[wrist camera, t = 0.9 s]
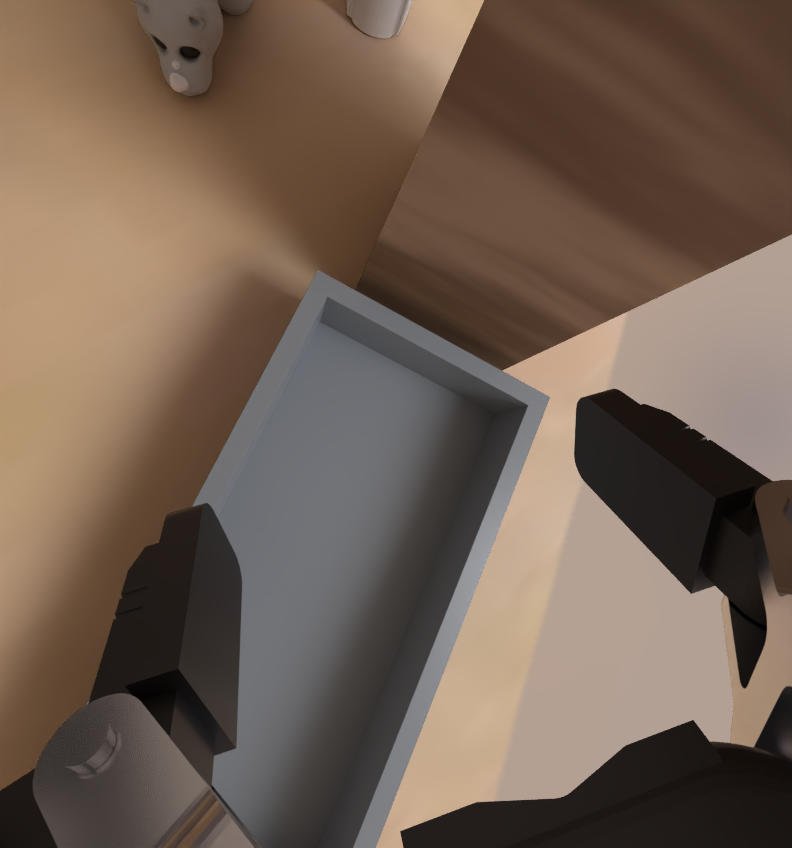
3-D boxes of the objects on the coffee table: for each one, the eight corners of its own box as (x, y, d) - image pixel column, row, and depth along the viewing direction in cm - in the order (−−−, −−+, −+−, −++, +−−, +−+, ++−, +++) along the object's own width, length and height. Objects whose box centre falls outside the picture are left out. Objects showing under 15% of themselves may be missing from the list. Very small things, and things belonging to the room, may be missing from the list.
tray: (308, 902, 25) (317, 998, 20) (36, 822, 23) (-24, 911, 18) (508, 409, 31) (550, 397, 26) (310, 303, 29) (317, 269, 24)
